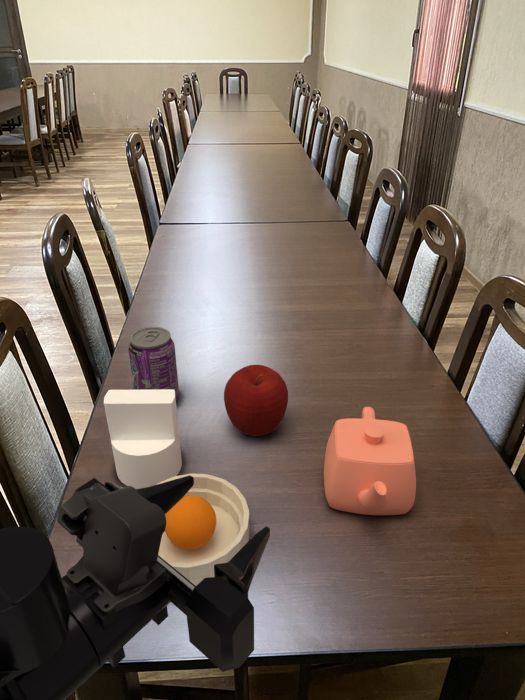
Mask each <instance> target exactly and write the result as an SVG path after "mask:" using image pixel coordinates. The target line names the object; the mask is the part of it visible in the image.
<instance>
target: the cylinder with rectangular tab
mask: <svg viewBox="0 0 525 700" xmlns="http://www.w3.org/2000/svg"><path fill="white" fill-rule="evenodd" d="M103 407H104V412H105V418H106V422H107V428H108V429H107V430H108V434H109V439H110V445H111V450H112V455H113V461H114V464H115V465H114V467H115V470H116V471H115V472H116V475H117V478H118V480H119V481H120V482H121V483H122V484H123V485H125V487H127V486H132V487H134V488H135V489H141V488H146V487H150V486H154V485H156V484H158V483H159V482H162V481H164V480H167V479H169V478H172V477H174V476H178V474H179V473H180V471H181V469H182V466H183V462H182V461H183V460H182V449H181V439H180V438H181V437H180V430H179V429H180V428H179V418H178V409H177V400H176V398H175V390H174V389H165V390H134V389H109V390H107V391H106V394H105V395H104V397H103Z"/></svg>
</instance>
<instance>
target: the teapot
mask: <svg viewBox="0 0 525 700" xmlns="http://www.w3.org/2000/svg"><path fill="white" fill-rule="evenodd" d="M412 445H413V444H412V441H411V436H410V432H409V428H408V426H407V425H406V424H405V423H403V422H399V421H395V420H387V419H378V418H376V413H375V409H374V408H373V407H371V406H364V407H363V408H362V411H361V418H355V417H354V418H350V417H349V418H340V419H337V420H336V421H335V423H334V424H333V427H332V429H331V432H330V434H329V437H328V440H327V443H326V449H325V454H324V462H323V484H324V486H323V487H324V493H325V499H326V501H327V504H328V506H329V507H330V508H332V509H334V510H337V511H341V512H345V513H351V514H358V515H367V516H397V515H398V516H399V515H405V514H407V513H408V512H410V510H411V509H412V508H413V507H414V505H415V502H416V501H415V500H416V495H417V473H416V463H415V456H414V450H413V446H412Z"/></svg>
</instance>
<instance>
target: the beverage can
mask: <svg viewBox="0 0 525 700" xmlns="http://www.w3.org/2000/svg"><path fill="white" fill-rule="evenodd" d="M127 351H128V358H129V364H130V372H131V377H132V378H131V379H132V385H133V390H165V389H174V390H175V398H176V401H178V399H179V397H180V386H179V376H178V366H177V356H176V344H175V341H174V340H173V338H172V334H171V332H170V330H169V329H167V328H164V327H160V326H147V327H141V328H139V329H137V330H135V331H134V332H132V333H131V334H130V336H129V344H128V347H127Z"/></svg>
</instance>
